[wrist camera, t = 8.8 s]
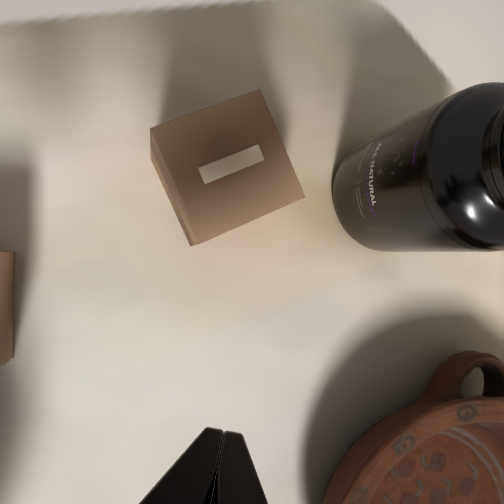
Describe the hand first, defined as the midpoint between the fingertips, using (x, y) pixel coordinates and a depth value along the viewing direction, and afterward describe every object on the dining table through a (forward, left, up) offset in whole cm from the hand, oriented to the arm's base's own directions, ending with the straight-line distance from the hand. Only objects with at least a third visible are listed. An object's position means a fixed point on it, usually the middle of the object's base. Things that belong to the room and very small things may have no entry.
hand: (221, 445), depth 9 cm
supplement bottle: (+6, -13, -12) cm, 19 cm away
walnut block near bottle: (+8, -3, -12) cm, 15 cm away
